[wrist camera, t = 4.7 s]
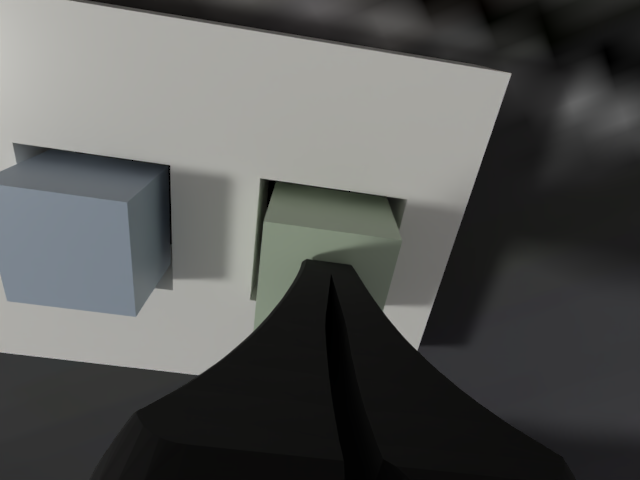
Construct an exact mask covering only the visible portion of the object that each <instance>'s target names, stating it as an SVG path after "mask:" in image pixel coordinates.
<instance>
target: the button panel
mask: <svg viewBox="0 0 640 480" xmlns="http://www.w3.org/2000/svg"><path fill="white" fill-rule="evenodd" d="M511 74H512V73H508V72H504V71H500V70H496V69H492V68H488V67H483V66H479V65H475V64H470V63H464V62H458V61H452V60H446V59H440V58H433V57H427V56H421V55H415V54H409V53H403V52H397V51H391V50H385V49H379V48H373V47H367V46H361V45H355V44H349V43H343V42H337V41H331V40H325V39H318V38H312V37H306V36H300V35H294V34H288V33H282V32H276V31H270V30H264V29H258V28H252V27H246V26H240V25H234V24H228V23H222V22H216V21H210V20H204V19H197V18H191V17H185V16H179V15H173V14H167V13H161V12H155V11H149V10H143V9H137V8H131V7H125V6H119V5H113V4H107V3H101V2H95V1H89V0H0V171H2V170H4V169H7V168H9V167H11V166H14V165H16V164H18V163H20V162H23V161H25V160H27V159H29V158H32V157H34V156H36V155H38V154H41V153H43V152H45V151H48V150H50V149H52V150H59V151H66V152H73V153H75V152H81V153H88V154H95V155H102V156H109V157H116V158H123V159H130V160H137V161H144V162H151V163H158V164H165V165H170V181H171V224H172V244H170V253H171V264H170V266H169V267H168V269H167V270H166V272H165V273H164V275H163V276H162V278H161V279H160V281H159V282H158V284H157V285H156V287H155V289H154V290H153V292H152V293H151V295H150V296H149V298H148V299H147V301H146V302H145V304H144V305H143V307H142V308H141V310H140V311H139V313H138V315H137V316H136V317H132V316H124V315H116V314H108V313H100V312H91V311H83V310H75V309H67V308H59V307H50V306H42V305H34V304H26V303H18V302H9V301H7V299H6V295H5V291H4V287H3V283H2V279H1V275H0V352H2V353H11V354H19V355H28V356H37V357H45V358H54V359H63V360H72V361H80V362H89V363H98V364H106V365H115V366H124V367H133V368H141V369H150V370H159V371H167V372H176V373H185V374H194V375H200V374H201V373H203V372H204V371H206V370H207V369H209V368H210V367H211V366H213V365H214V364H216V363H217V362H218V361H220V360H221V359H222V358H224V357H225V356H226V355H227V354H229V353H230V352H231V351H232V350H233V349H234V348H236V347H237V346H238V345H239V344H240V343H241V342H243V341H244V340H245V339H246V338H247V337H248V336H249V335H250V334H251V333H252V332H253V330H254V319H255V308H256V298H257V287H258V276H259V265H260V254H261V243H262V233H263V222H264V218H265V215H266V209H267V199H268V188H269V180H276V181H283V182H290V183H297V184H304V185H311V186H318V187H324V188H331V189H338V190H345V191H352V192H359V193H366V194H373V195H380V196H386V198H387V199H388V202H389V205H390V208H391V210H392V213H393V216H394V219H395V221H396V224H397V227H398V230H399V232H400V235H401V238H402V244H401V247H400V251H399V255H398V258H397V262H396V266H395V269H394V273H393V277H392V280H391V284H390V288H389V291H388V295H387V299H386V302H385V306H384V310H383V312H384V314H385V315H386V316H387V318H388V319H389V320H390V321H391V323H392V324H393V325H394V326H395V327H396V329H397V330H398V331H399V332H400V333H401V334H402V336H403V337H404V338H405V339H406V340H407V341H408V342H409V343H410V344H411V345H412V346H413V347H414V348H415V349H416V350H418V347H419V344H420V341H421V338H422V335H423V332H424V329H425V327H426V324H427V321H428V318H429V315H430V312H431V309H432V306H433V303H434V300H435V297H436V294H437V291H438V288H439V285H440V282H441V280H442V277H443V274H444V271H445V268H446V265H447V262H448V259H449V256H450V253H451V250H452V247H453V244H454V241H455V238H456V235H457V232H458V230H459V227H460V224H461V221H462V218H463V215H464V212H465V209H466V206H467V203H468V200H469V197H470V194H471V191H472V188H473V185H474V183H475V180H476V177H477V174H478V171H479V168H480V165H481V162H482V159H483V156H484V153H485V150H486V147H487V144H488V141H489V138H490V135H491V133H492V130H493V127H494V124H495V121H496V118H497V115H498V112H499V109H500V106H501V103H502V100H503V97H504V94H505V91H506V88H507V86H508V83H509V80H510V77H511Z"/></svg>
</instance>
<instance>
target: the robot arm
mask: <svg viewBox="0 0 640 480" xmlns="http://www.w3.org/2000/svg"><path fill="white" fill-rule="evenodd" d="M90 480H576V479H575V477H574V476H573V474H572V472H571V470H570V469H569V467H568V465H567V464H566V462H565V461H564V459H563V457H561V456H560V455H558V454H556V453H555V452H553V451H552V450H550V449H548V448H547V447H545V446H543V445H542V444H540V443H538V442H537V441H535V440H534V439H532V438H530V437H529V436H527V435H525V434H524V433H522V432H521V431H519V430H517V429H516V428H514V427H512V426H511V425H509V424H508V423H506V422H505V421H503V420H502V419H500V418H499V417H498V416H496V415H495V414H493V413H492V412H490V411H489V410H488V409H486V408H485V407H483V406H482V405H481V404H479V403H478V402H476V401H475V400H474V399H472V398H471V397H470V396H469V395H467V394H466V393H465V392H463V391H462V390H461V389H459V388H458V387H457V386H456V385H455V384H453V383H452V382H451V381H450V380H449V379H447V378H446V377H445V376H444V375H443V374H441V373H440V372H439V371H438V370H437V369H436V368H435V367H434V366H432V365H431V364H430V363H429V362H428V361H427V360H426V359H425V358H424V357H423V356H422V355H421V354H420V353H419V352H418V351H417V350H416V349H415V348H414V347H413V346H412V345H411V344H410V343H409V342H408V341H407V340H406V339H405V338H404V337H403V336H402V334H401V333H400V332H399V331H398V330H397V329H396V327H395V326H394V325H393V324H392V323H391V321H390V320H389V319H388V318H387V316H386V315H385V314H384V312H383V311H382V310H381V308H380V307H379V305H378V304H377V303H376V301H375V300H374V299H373V297H372V296H371V294H370V293H369V291H368V290H367V288H366V287H365V285H364V283H363V282H362V280H361V279H360V277H359V276H358V274H357V272H356V271H355V269H354V268H353V266H352V265H349V264H341V263H333V262H326V261H318V260H311V259H306V260H304V261H302V263H301V267H300V270H299V272H298V274H297V276H296V278H295V279H294V281H293V283H292V285H291V286H290V287H289V289H288V290H287V292H286V293H285V295H284V296H283V298H282V299H281V300H280V302H279V303H278V304H277V305H276V307H275V308H274V309H273V310H272V312H271V313H270V314H269V315H268V316H267V318H266V319H265V320H264V321H263V322H262V323H261V324H260V325H259V326H258V327H257V328H256V329H255V330H254V331H253V332H252V333H251V334H250V335H249V336H248V337H247V338H246V339H245V340H244V341H243V342H241V343H240V344H239V345H238V346H237V347H236V348H234V349H233V350H232V351H231V352H230V353H229V354H227V355H226V356H225V357H224V358H222V359H221V360H220V361H218V362H217V363H216V364H214V365H213V366H211V367H210V368H209V369H207V370H206V371H204V372H203V373H201V374H200V375H198V376H197V377H195V378H194V379H193V380H191V381H190V382H188V383H187V384H185V385H183V386H182V387H180V388H179V389H177V390H175V391H173V392H172V393H170V394H168V395H166V396H164V397H163V398H161V399H159V400H157V401H155V402H154V403H152V404H150V405H148V406H146V407H144V408H142V409H140V410H138V411H136V412H135V413H133V415H132V416H131V417H130V419H129V420H128V421H127V422H126V424H125V425H124V427H123V428H122V429H121V431H120V432H119V433H118V435H117V436H116V438H115V439H114V441H113V442H112V444H111V445H110V446H109V448H108V449H107V451H106V452H105V454H104V455H103V457H102V458H101V460H100V462H99V463H98V465H97V466H96V468H95V470H94V472H93V474H92V476H91V478H90Z"/></svg>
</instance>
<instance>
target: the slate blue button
mask: <svg viewBox="0 0 640 480" xmlns="http://www.w3.org/2000/svg"><path fill="white" fill-rule="evenodd" d="M170 264H171V253H170V213H169V174H168V166H164V165H157V164H150V163H143V162H136V161H129V160H122V159H115V158H108V157H101V156H94V155H87V154H80V153H73V152H66V151H59V150H52V149H50V150H48V151H45V152H43V153H41V154H38V155H36V156H34V157H32V158H29V159H27V160H25V161H23V162H20V163H18V164H16V165H14V166H11V167H9V168H7V169H4V170H2V171H0V275H1V279H2V283H3V287H4V291H5V295H6V299H7V301H9V302H18V303H26V304H34V305H42V306H50V307H59V308H67V309H75V310H83V311H91V312H100V313H108V314H116V315H124V316H132V317H136V316H137V315H138V313H139V311H140V310H141V308H142V307H143V305H144V304H145V302H146V301H147V299H148V298H149V296H150V295H151V293H152V292H153V290H154V289H155V287H156V285H157V284H158V282H159V281H160V279H161V278H162V276H163V275H164V273H165V272H166V270H167V269H168V267H169V266H170Z"/></svg>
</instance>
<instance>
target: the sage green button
mask: <svg viewBox="0 0 640 480" xmlns="http://www.w3.org/2000/svg"><path fill="white" fill-rule="evenodd" d="M401 244H402V238H401V235H400V232H399V230H398V227H397V224H396V221H395V219H394V216H393V213H392V210H391V208H390V205H389V202H388V199H387V198H386V197H379V196H372V195H365V194H359V193H352V192H345V191H338V190H331V189H324V188H317V187H310V186H303V185H296V184H289V183H282V182H276V184H275V187H274V190H273V193H272V196H271V199H270V203H269V206H268V209H267V212H266V215H265V218H264V222H263V233H262V243H261V254H260V265H259V276H258V287H257V298H256V308H255V319H254V330H255V329H256V328H257V327H258V326H259V325H260V324H261V323H262V322H263V321H264V320H265V319H266V318H267V316H268V315H269V314H270V313H271V312H272V310H273V309H274V308H275V307H276V305H277V304H278V303H279V302H280V300H281V299H282V298H283V296H284V295H285V293H286V292H287V290H288V289H289V287H290V286H291V285H292V283H293V281H294V279H295V278H296V276H297V274H298V272H299V270H300V267H301V263H302V261H304V260H306V259H311V260H318V261H326V262H333V263H341V264H349V265H352V266H353V268H354V269H355V271H356V272H357V274H358V276H359V277H360V279H361V280H362V282H363V283H364V285H365V287H366V288H367V290H368V291H369V293H370V294H371V296H372V297H373V299H374V300H375V301H376V303H377V304H378V305H379V307H380V308H381V310H382V311H383V310H384V306H385V302H386V299H387V295H388V291H389V288H390V284H391V280H392V277H393V273H394V269H395V266H396V262H397V258H398V255H399V251H400V247H401ZM254 330H253V331H254Z"/></svg>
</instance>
